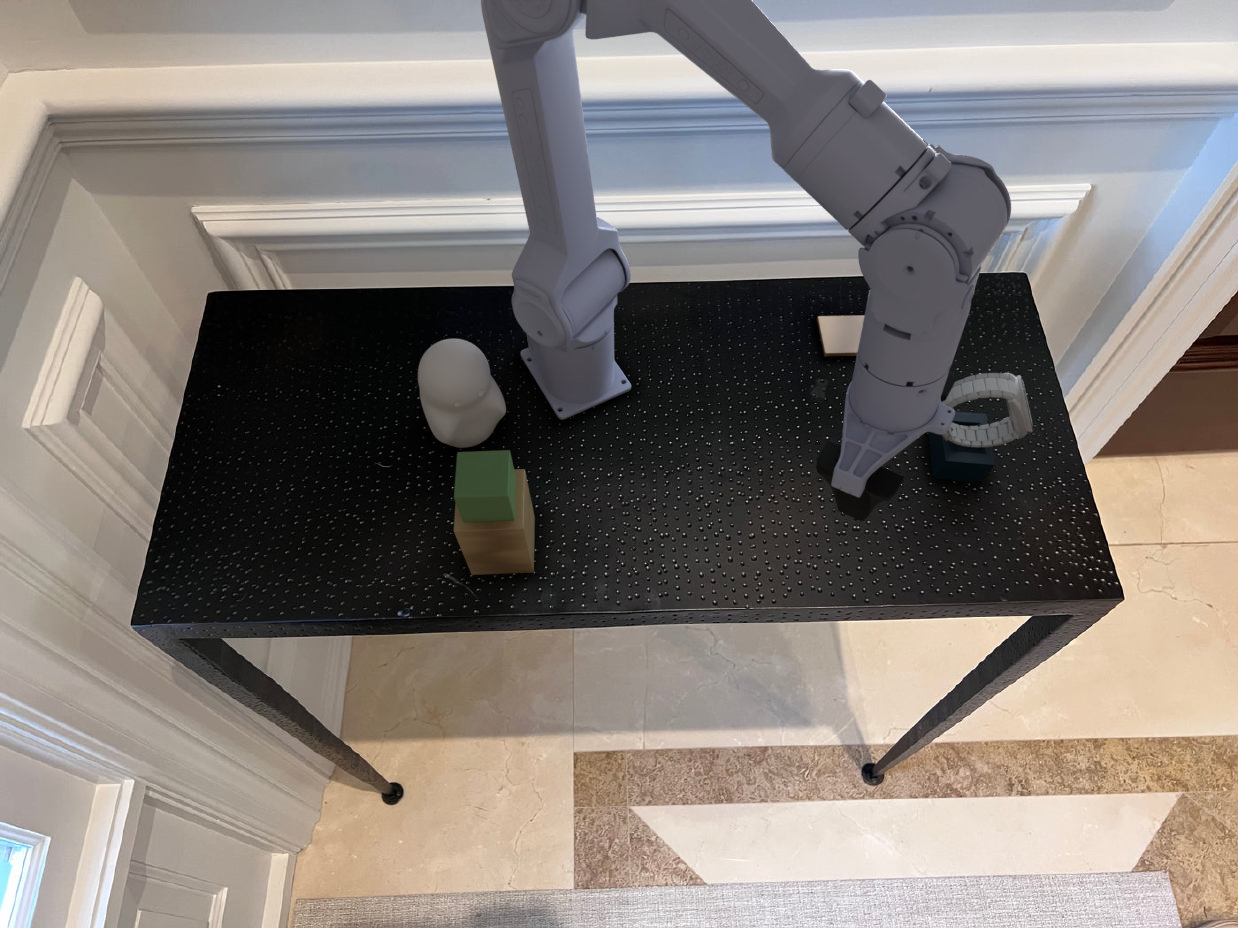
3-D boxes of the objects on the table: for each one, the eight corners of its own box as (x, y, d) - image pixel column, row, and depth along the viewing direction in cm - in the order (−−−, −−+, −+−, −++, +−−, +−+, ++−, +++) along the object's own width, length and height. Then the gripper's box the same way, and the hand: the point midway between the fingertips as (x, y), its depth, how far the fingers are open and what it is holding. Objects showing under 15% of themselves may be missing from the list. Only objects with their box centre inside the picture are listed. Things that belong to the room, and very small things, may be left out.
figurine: (451, 470, 73) (424, 394, 63) (417, 413, 77) (385, 332, 66) (518, 436, 75) (502, 357, 65) (482, 382, 79) (461, 298, 68)
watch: (1003, 484, 73) (1060, 416, 63) (914, 476, 73) (957, 407, 64) (994, 433, 75) (1047, 361, 66) (908, 426, 76) (949, 353, 66)
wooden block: (471, 575, 68) (453, 531, 61) (474, 519, 71) (457, 471, 64) (534, 572, 68) (523, 528, 61) (534, 517, 71) (524, 468, 64)
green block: (462, 522, 61) (453, 498, 58) (465, 478, 63) (457, 451, 60) (514, 520, 61) (508, 496, 58) (516, 476, 63) (509, 449, 60)
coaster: (824, 356, 80) (825, 353, 80) (816, 319, 83) (817, 316, 82) (873, 355, 80) (874, 352, 80) (863, 318, 83) (865, 315, 83)
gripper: (924, 459, 45) (885, 571, 56) (1007, 301, 51) (958, 429, 62) (809, 414, 48) (794, 529, 59) (901, 269, 54) (872, 397, 65)
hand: (872, 475), depth 61 cm, fingers open, 7 cm apart
